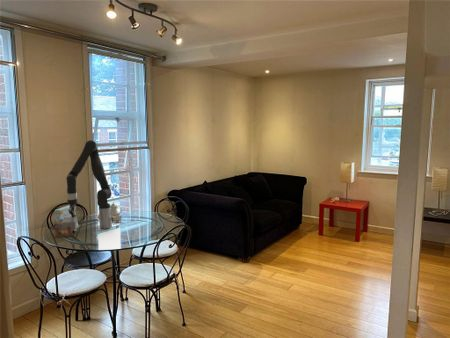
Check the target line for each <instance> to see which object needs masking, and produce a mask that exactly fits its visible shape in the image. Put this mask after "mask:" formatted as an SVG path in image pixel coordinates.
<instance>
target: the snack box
mask: <svg viewBox="0 0 450 338" xmlns="http://www.w3.org/2000/svg"><path fill="white" fill-rule="evenodd" d="M69 207H70V205H68V204H67V205H65V206H63V207H62V206H61V207H59V208H57V209H54V227H55V226H60V227H61V222H62V221H63V219H64V218H67V217H72V216H71V214H70V213H69V209H70V208H69ZM76 213H77V212H76ZM76 213H75V217H77V216H76Z"/></svg>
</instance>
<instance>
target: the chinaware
mask: <svg viewBox="0 0 450 338" xmlns="http://www.w3.org/2000/svg"><path fill="white" fill-rule="evenodd" d="M119 208H120V209H119ZM118 209H119V210H120V211H119V212H118ZM122 210H123V209H122V207H121V206H118V205H117V204H116V203H115V202H112V203H111V204H110V211H111V219H112V222H113V221H114V222H115V223H117V224H119V223H121V222H123V221H124V219H123V216H122V215H121V213H122V212H123V211H122ZM95 216H96V218H97V220H99V213H98V214H97V215H95Z"/></svg>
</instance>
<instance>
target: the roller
mask: <svg viewBox="0 0 450 338" xmlns="http://www.w3.org/2000/svg"><path fill="white" fill-rule="evenodd" d="M60 233H61V234H68V231H67V230H62V229H60Z"/></svg>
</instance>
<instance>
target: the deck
mask: <svg viewBox="0 0 450 338" xmlns="http://www.w3.org/2000/svg"><path fill="white" fill-rule="evenodd" d="M60 230H61V226H55V225H54V232H55V233H54V234H55V237H56V238H57V237H58V238H59V237H60V238H61V237H73V236H74V231H72V226H67V231H68V234H61V233H60Z"/></svg>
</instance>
